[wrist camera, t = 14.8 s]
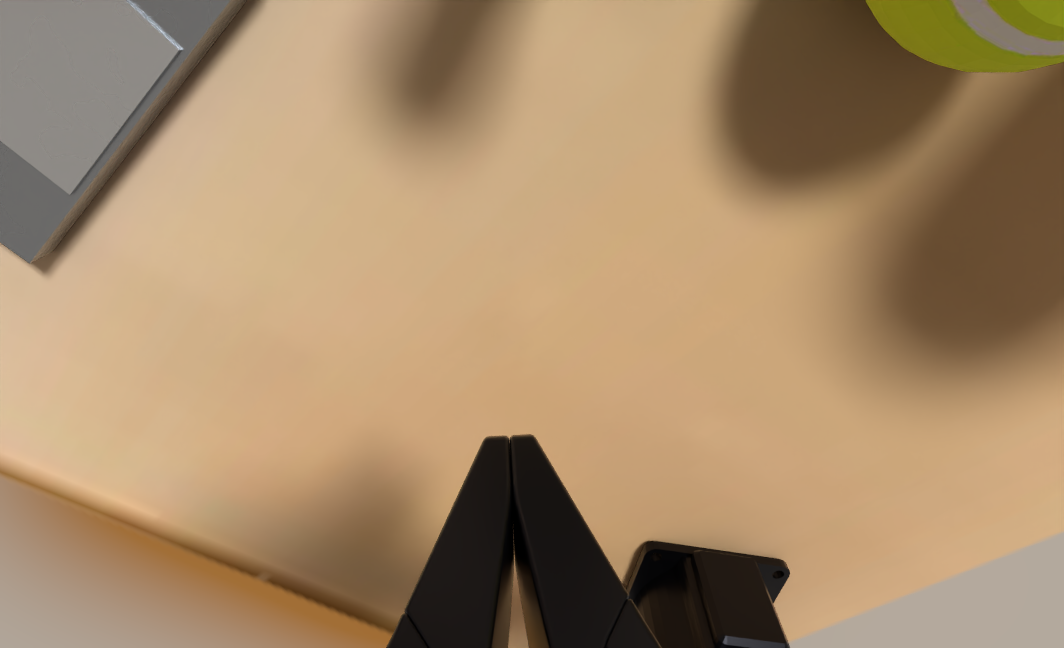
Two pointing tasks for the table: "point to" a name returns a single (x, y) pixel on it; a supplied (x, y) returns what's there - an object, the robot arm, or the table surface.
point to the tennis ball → (977, 32)
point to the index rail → (85, 99)
